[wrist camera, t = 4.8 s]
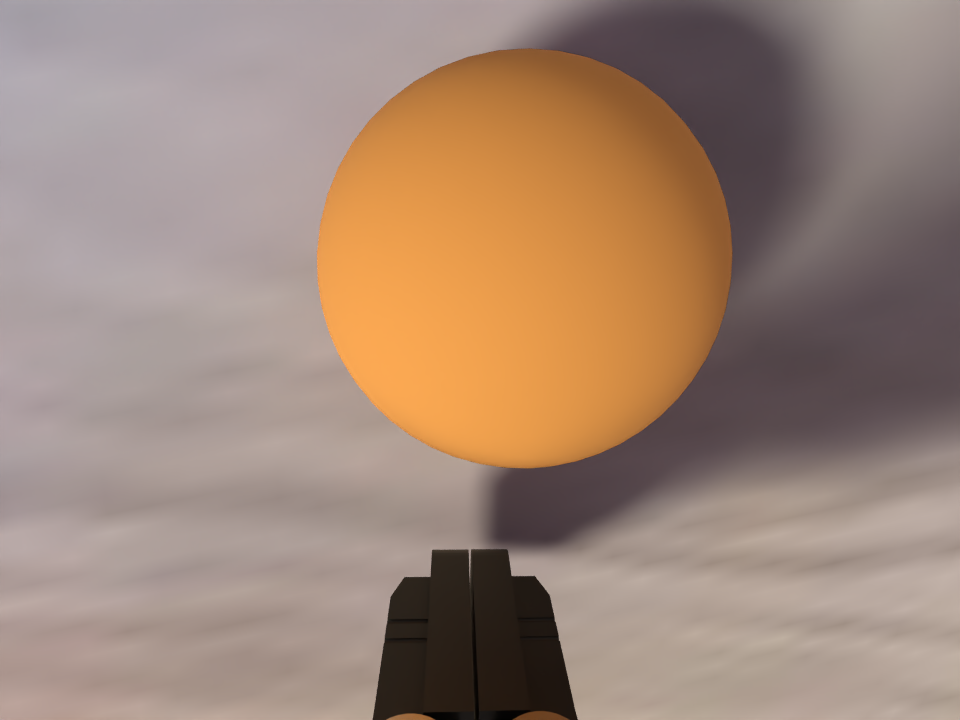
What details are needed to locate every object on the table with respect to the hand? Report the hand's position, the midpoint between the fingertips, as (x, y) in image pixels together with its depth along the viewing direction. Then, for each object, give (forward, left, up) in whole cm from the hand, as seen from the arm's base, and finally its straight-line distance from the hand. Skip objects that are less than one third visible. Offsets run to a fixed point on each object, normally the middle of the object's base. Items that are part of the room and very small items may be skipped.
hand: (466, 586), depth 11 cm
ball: (-7, +1, +1) cm, 7 cm away
